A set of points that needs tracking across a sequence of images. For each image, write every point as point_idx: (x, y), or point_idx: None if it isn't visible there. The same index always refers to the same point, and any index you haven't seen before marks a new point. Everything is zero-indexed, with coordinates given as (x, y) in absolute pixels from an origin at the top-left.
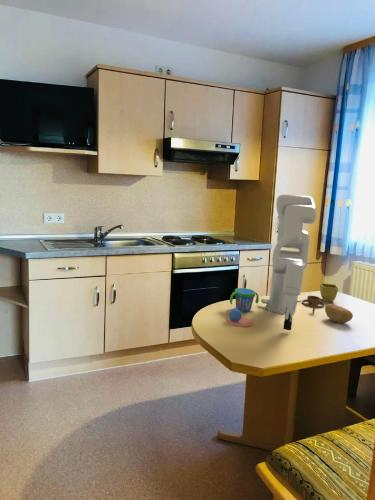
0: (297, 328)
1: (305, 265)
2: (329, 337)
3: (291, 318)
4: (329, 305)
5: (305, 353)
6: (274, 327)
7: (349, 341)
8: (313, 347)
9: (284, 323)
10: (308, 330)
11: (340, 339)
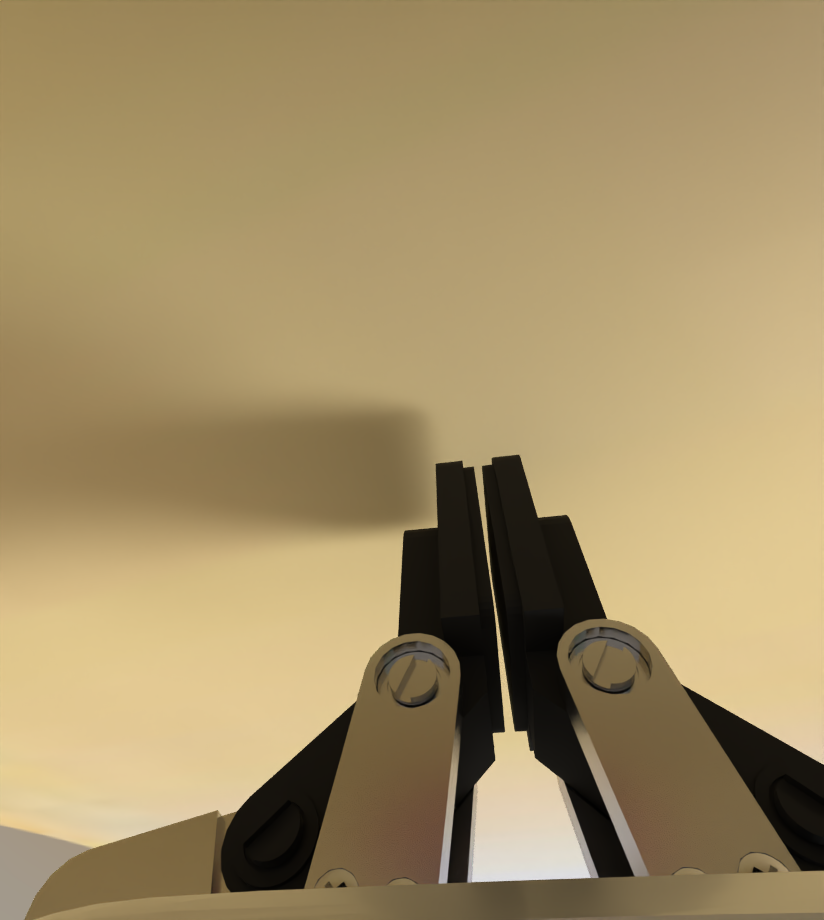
0: (814, 551)
1: None
2: None
3: (570, 819)
4: None
5: (7, 776)
6: (617, 148)
7: None
8: (233, 791)
9: (439, 562)
10: (792, 673)
11: None
